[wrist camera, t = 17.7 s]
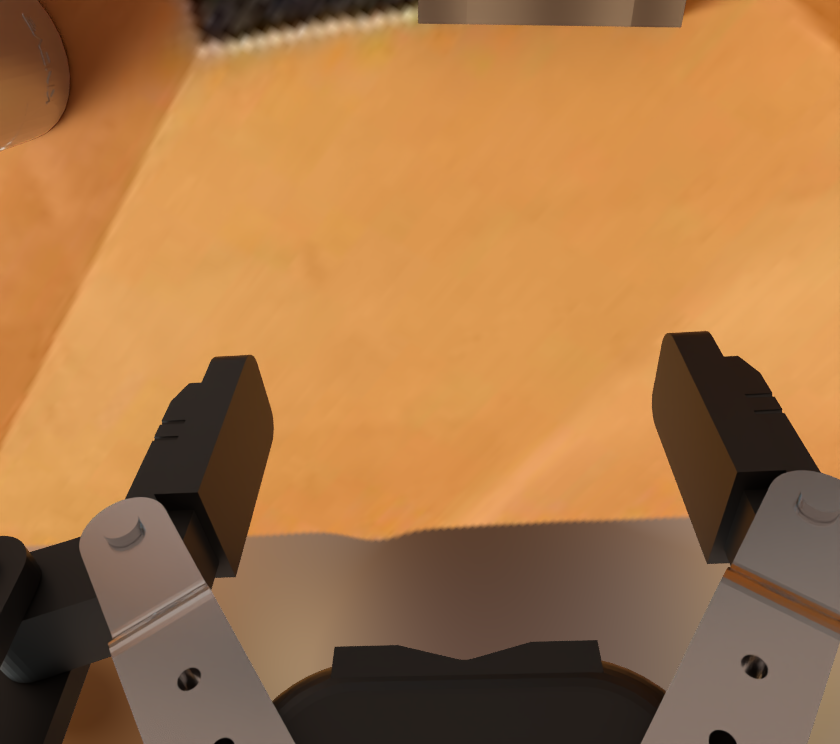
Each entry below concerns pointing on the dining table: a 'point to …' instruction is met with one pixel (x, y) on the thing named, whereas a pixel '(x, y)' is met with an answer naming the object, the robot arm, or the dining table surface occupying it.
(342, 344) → the dining table surface
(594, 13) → the brown flat frame piece
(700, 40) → the dining table surface
